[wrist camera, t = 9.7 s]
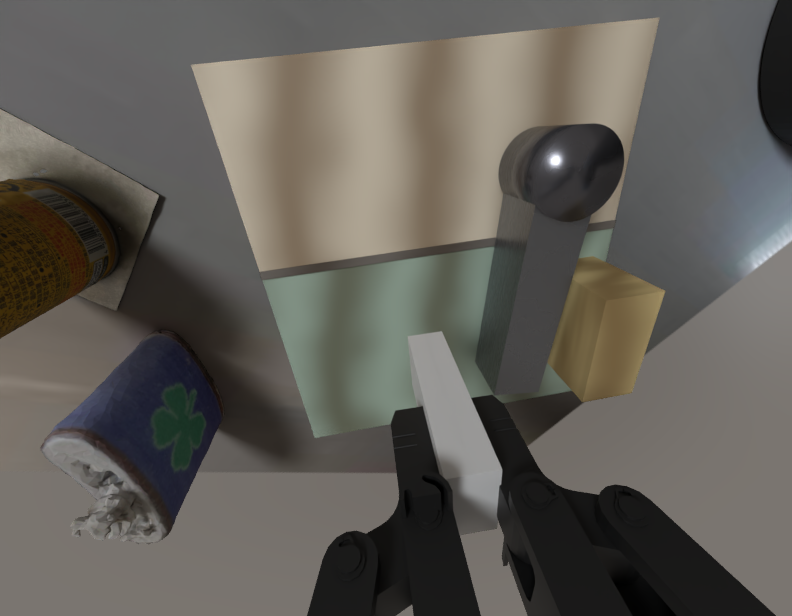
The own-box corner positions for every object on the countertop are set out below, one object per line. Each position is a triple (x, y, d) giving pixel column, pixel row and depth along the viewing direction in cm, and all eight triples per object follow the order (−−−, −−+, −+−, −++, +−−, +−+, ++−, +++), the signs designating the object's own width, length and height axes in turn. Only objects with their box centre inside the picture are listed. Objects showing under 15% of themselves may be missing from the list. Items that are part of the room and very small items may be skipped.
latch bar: (505, 124, 16) (548, 121, 13) (577, 127, 17) (638, 124, 13) (468, 362, 23) (489, 401, 20) (520, 358, 24) (549, 396, 20)
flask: (139, 331, 22) (-18, 482, 12) (184, 323, 22) (63, 466, 12) (197, 426, 26) (115, 590, 17) (234, 419, 26) (173, 577, 17)
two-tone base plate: (627, 29, 17) (799, -36, 11) (563, 374, 29) (627, 444, 22) (208, 72, 16) (110, 27, 9) (316, 418, 27) (307, 507, 21)
